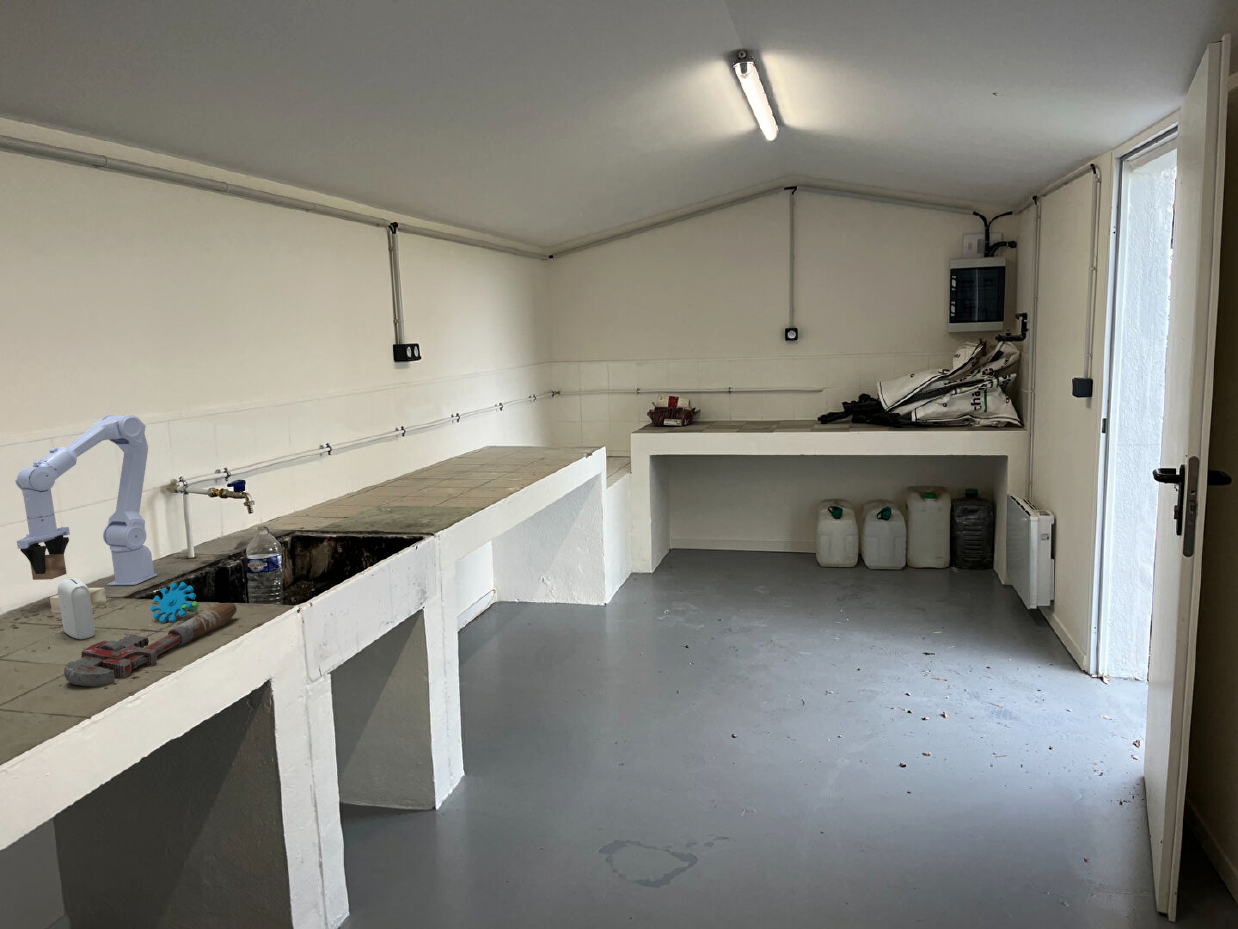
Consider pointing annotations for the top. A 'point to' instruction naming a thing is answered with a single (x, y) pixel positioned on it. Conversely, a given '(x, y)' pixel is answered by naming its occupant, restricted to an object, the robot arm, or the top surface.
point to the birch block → (95, 596)
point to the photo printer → (76, 608)
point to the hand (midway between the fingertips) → (49, 570)
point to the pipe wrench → (139, 649)
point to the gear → (175, 602)
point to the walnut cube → (51, 567)
